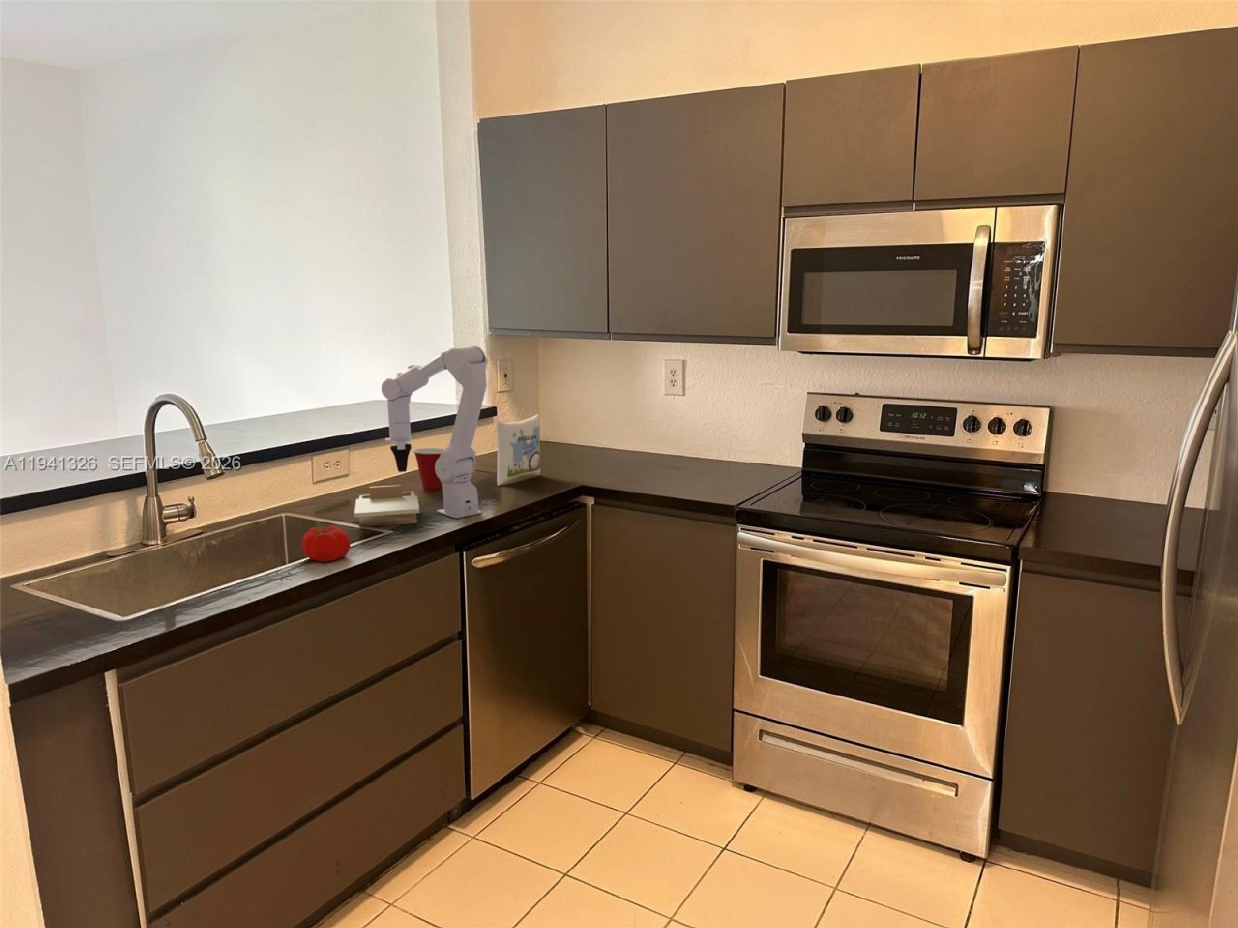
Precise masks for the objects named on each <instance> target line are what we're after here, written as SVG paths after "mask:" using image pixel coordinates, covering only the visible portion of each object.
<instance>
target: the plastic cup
mask: <svg viewBox="0 0 1238 928" xmlns="http://www.w3.org/2000/svg"><path fill="white" fill-rule="evenodd" d="M444 449H445V448H438V447H437V448H434V447H429V448H427V447H425V448H416V449H413V450H412V452H413V454H414V456H415V457H414V458H415V460H416V464H417V469H418V473H419V478H420V482H421V485H422V489H423V490H424V491H430V492H433V491H434V492H435V491H439V490H440V491H441V490H443V485H442V482H441V481H440V478H439V477H438V476H437V474H436V471H435V465H436V462H437V460H438V459H439V458H440V456H441V453H442V451H443V450H444Z"/></svg>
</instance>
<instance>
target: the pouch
mask: <svg viewBox="0 0 1238 928" xmlns="http://www.w3.org/2000/svg"><path fill="white" fill-rule="evenodd" d="M540 429H541V419H540V413H537V414H535V415H534V416H531V417H529V418H526V419H522V420H520V421H509V422H503V421H500V420H496V437H497V438H496V440H497V441H496V443H497V487H499V486H501V485H504V484H505V483H506V482H508V481H511V480H514V479H516V478H519V477H521V476H528V475H532V474H533V475H537V476H540V473H541V454H540V442H541V441H540V438H541V434H540V431H541V430H540Z"/></svg>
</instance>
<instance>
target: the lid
mask: <svg viewBox="0 0 1238 928" xmlns="http://www.w3.org/2000/svg"><path fill="white" fill-rule="evenodd" d="M403 492H404V491H403V484H395V485H380V486H369V494H370V498H364V499H359V498H356V499H355V503H354V511H353V517H354V518H359V517H369V516H383V515H397V514H411V513H416V514H420V506H419V500H418V496H417V495H418V494H414V495H409V496H403Z"/></svg>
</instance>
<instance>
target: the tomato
mask: <svg viewBox="0 0 1238 928" xmlns="http://www.w3.org/2000/svg"><path fill="white" fill-rule="evenodd" d="M350 539H351V538H350V537H349V536H348V533H346V531H344V530H343V529H340V528H339V527H337V526H336V525H329V526H326V527H325V526H323V527H322V528H319V527H315V526H314V527H311V528H309V529H308V530H307V531H306V532H305V534H304V535H303V537H302V539H301V548H302V552H303V553H304V555H305V556H306V557H307V558H309V559H310V560H315V561H317V562H321V563H322V562H323V563H324V562H325V563H327V562H333V561H335V560H337V559H342V558H344V557H345V556H347V555H348V553H349V551H350V550H351V540H350Z"/></svg>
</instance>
